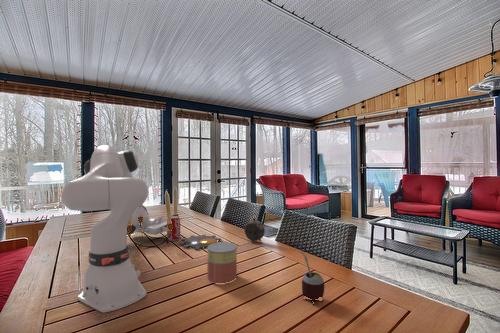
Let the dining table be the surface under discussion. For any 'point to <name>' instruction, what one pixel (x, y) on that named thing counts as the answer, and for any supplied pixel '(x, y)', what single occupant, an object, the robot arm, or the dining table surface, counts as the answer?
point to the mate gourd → (312, 283)
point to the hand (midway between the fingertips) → (174, 227)
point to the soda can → (174, 229)
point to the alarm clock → (254, 230)
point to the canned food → (221, 262)
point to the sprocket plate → (199, 241)
